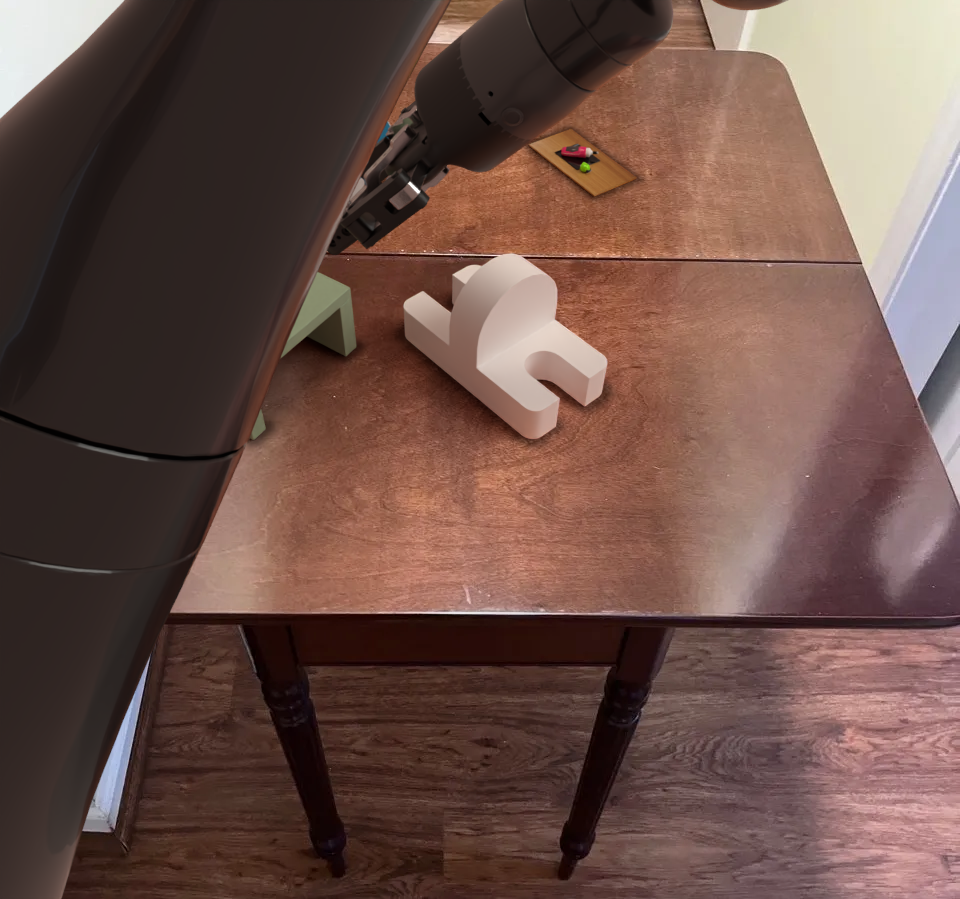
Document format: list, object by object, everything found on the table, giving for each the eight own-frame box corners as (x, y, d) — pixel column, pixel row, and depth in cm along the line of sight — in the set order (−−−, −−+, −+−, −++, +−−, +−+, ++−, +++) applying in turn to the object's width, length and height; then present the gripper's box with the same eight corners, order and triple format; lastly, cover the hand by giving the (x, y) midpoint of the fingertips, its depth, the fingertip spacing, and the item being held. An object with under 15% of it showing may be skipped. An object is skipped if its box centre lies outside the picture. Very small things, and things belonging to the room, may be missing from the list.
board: (593, 196, 102) (595, 185, 101) (529, 145, 108) (529, 134, 107) (636, 179, 104) (638, 167, 103) (570, 130, 110) (571, 118, 109)
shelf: (253, 440, 78) (231, 354, 70) (122, 363, 83) (88, 275, 75) (356, 347, 85) (347, 260, 78) (230, 282, 91) (209, 194, 83)
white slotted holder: (531, 443, 79) (541, 352, 70) (399, 333, 87) (394, 240, 78) (607, 390, 83) (625, 299, 74) (474, 290, 91) (477, 198, 83)
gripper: (493, -19, 59) (338, 118, 69) (434, 91, 50) (266, 229, 60) (566, 72, 62) (408, 190, 72) (523, 191, 53) (349, 306, 63)
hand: (344, 208), depth 66 cm, fingers open, 8 cm apart
